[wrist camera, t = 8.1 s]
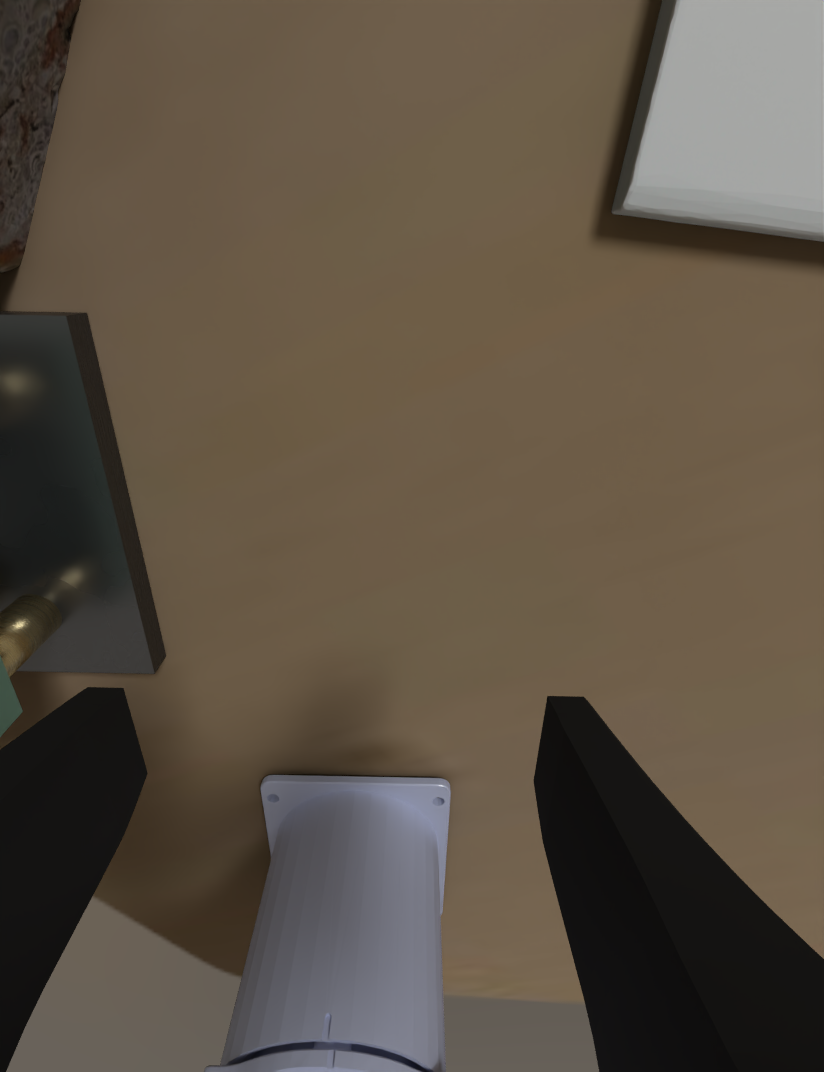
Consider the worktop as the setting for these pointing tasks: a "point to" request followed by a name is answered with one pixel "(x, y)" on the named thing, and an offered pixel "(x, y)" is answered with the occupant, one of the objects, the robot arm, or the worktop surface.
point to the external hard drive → (731, 119)
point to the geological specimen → (27, 108)
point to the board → (7, 701)
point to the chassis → (66, 511)
